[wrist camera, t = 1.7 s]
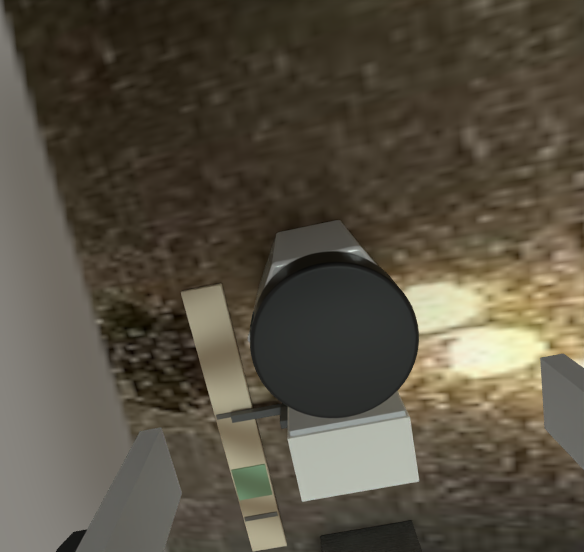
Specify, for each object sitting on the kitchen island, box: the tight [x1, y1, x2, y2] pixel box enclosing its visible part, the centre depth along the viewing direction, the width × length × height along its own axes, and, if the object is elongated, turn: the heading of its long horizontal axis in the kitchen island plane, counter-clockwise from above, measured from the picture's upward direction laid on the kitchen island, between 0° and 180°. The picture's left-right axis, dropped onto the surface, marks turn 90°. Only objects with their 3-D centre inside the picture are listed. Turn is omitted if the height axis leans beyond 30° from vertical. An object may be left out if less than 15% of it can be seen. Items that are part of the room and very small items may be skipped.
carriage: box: [231, 391, 419, 502], centre depth 33 cm, size 5×13×6 cm, turn 101°
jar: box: [248, 220, 419, 418], centre depth 27 cm, size 9×8×12 cm
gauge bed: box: [181, 283, 287, 551], centre depth 36 cm, size 24×3×1 cm, turn 11°
